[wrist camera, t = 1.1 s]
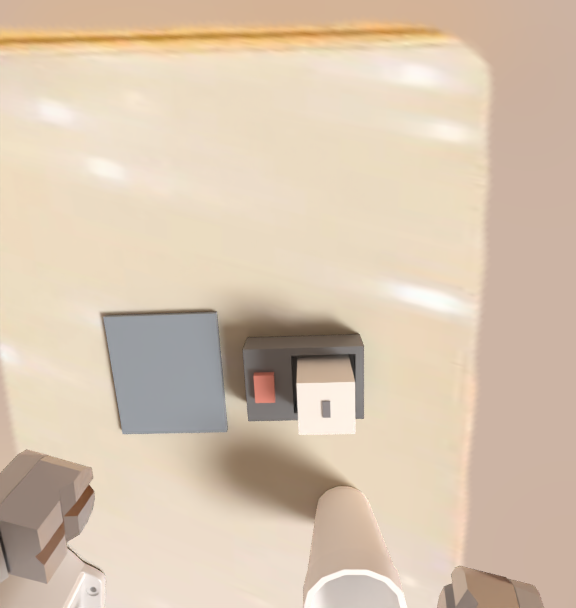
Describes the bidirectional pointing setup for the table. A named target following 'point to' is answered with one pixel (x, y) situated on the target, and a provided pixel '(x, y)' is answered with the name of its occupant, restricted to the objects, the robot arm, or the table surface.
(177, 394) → the rubber mat
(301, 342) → the power strip
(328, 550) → the foam cup
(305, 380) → the block
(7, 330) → the table surface
